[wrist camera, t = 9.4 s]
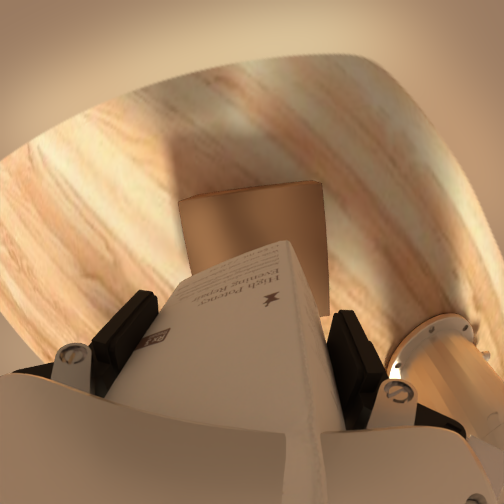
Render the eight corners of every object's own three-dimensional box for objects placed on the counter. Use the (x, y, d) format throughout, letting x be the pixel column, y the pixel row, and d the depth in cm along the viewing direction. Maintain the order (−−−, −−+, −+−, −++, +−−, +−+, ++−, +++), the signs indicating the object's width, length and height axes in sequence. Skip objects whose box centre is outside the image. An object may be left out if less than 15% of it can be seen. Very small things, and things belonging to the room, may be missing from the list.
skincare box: (287, 233, 13) (345, 541, 1) (320, 311, 14) (378, 556, 2) (174, 282, 14) (29, 491, 2) (215, 348, 15) (155, 559, 3)
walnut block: (311, 180, 23) (321, 183, 18) (320, 289, 26) (329, 315, 21) (196, 195, 24) (177, 201, 19) (215, 299, 27) (203, 326, 22)
